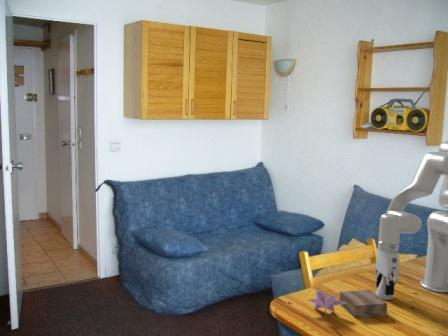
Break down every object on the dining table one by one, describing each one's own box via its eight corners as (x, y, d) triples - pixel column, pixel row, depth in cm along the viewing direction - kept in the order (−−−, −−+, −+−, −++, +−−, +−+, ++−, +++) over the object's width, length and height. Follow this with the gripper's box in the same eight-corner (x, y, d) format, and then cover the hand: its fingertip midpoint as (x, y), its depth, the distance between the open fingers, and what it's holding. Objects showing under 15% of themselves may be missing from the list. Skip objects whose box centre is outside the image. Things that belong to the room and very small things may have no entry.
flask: (391, 293, 185) (393, 269, 183) (396, 301, 178) (398, 276, 176) (372, 292, 185) (374, 268, 184) (376, 299, 178) (378, 274, 177)
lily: (349, 321, 162) (348, 293, 166) (334, 319, 154) (332, 289, 157) (318, 321, 169) (317, 294, 173) (302, 319, 161) (301, 290, 164)
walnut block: (368, 302, 176) (369, 289, 176) (386, 316, 165) (387, 303, 164) (339, 304, 174) (340, 291, 173) (355, 319, 162) (356, 305, 162)
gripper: (410, 253, 171) (405, 299, 173) (386, 239, 188) (382, 282, 190) (391, 253, 170) (387, 300, 172) (368, 239, 186) (365, 282, 189)
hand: (384, 290), depth 181 cm, fingers open, 6 cm apart
